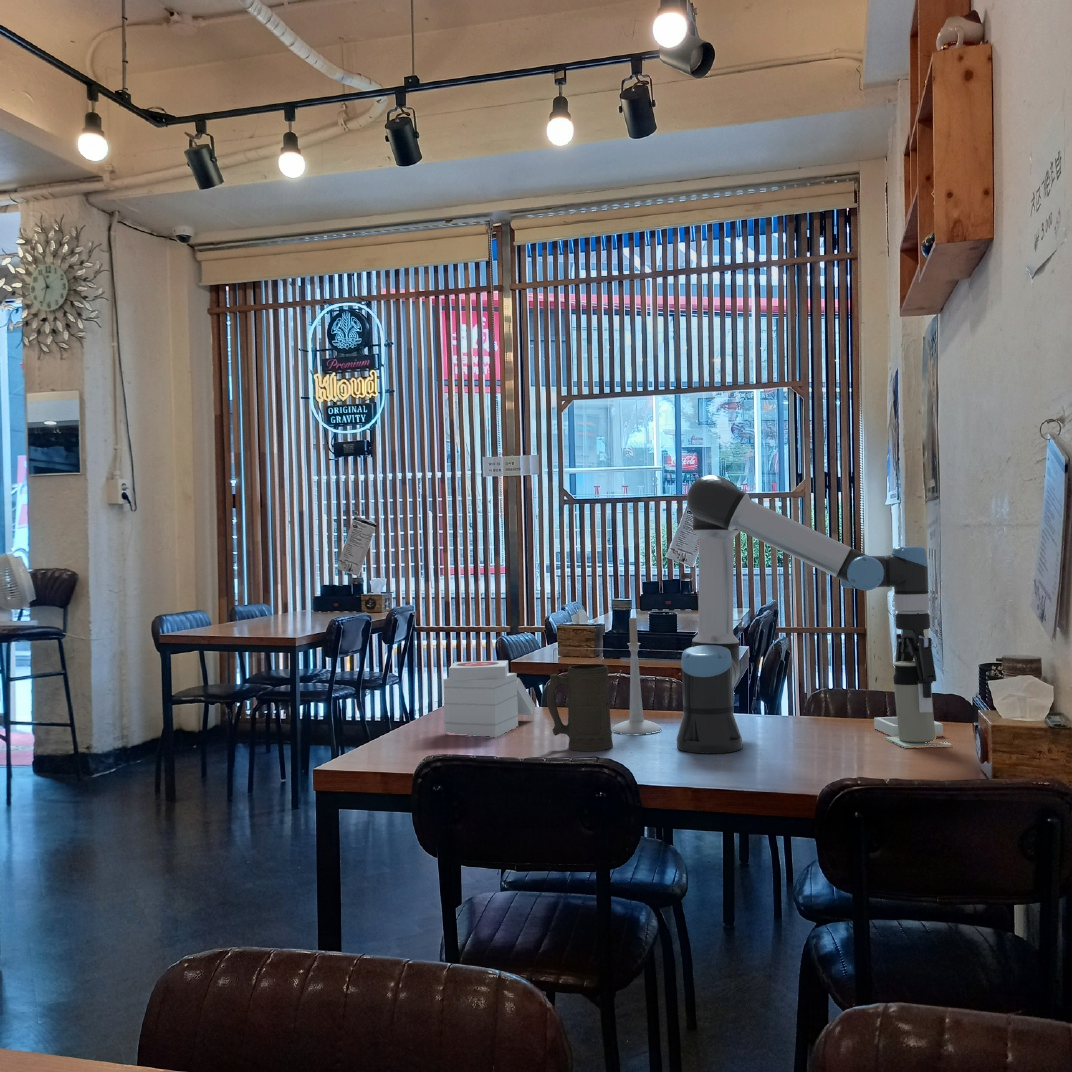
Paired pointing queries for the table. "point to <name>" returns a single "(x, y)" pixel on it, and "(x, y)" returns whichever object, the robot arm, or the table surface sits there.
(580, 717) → the beer stein
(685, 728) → the robot arm
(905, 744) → the mat
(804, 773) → the table surface
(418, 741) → the table surface
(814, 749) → the table surface
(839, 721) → the table surface
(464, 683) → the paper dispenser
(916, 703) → the travel mug
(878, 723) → the square grey tray
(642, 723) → the candlestick
